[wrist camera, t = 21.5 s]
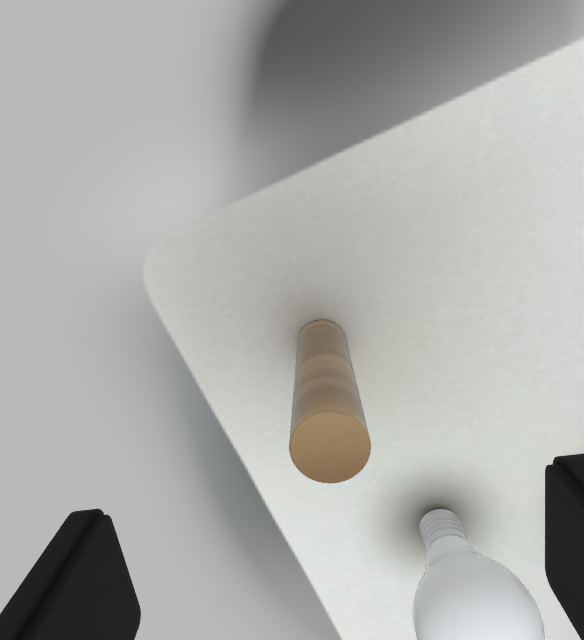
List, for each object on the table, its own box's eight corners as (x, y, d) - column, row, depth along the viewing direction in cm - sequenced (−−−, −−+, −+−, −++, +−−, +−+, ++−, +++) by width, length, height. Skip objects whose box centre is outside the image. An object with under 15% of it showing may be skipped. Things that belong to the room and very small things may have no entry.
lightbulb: (386, 555, 33) (422, 730, 22) (393, 476, 31) (435, 625, 21) (478, 559, 33) (558, 737, 22) (490, 480, 31) (583, 632, 21)
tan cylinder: (294, 322, 29) (284, 416, 17) (344, 316, 28) (367, 407, 17) (300, 368, 29) (294, 487, 18) (348, 363, 29) (374, 480, 18)
